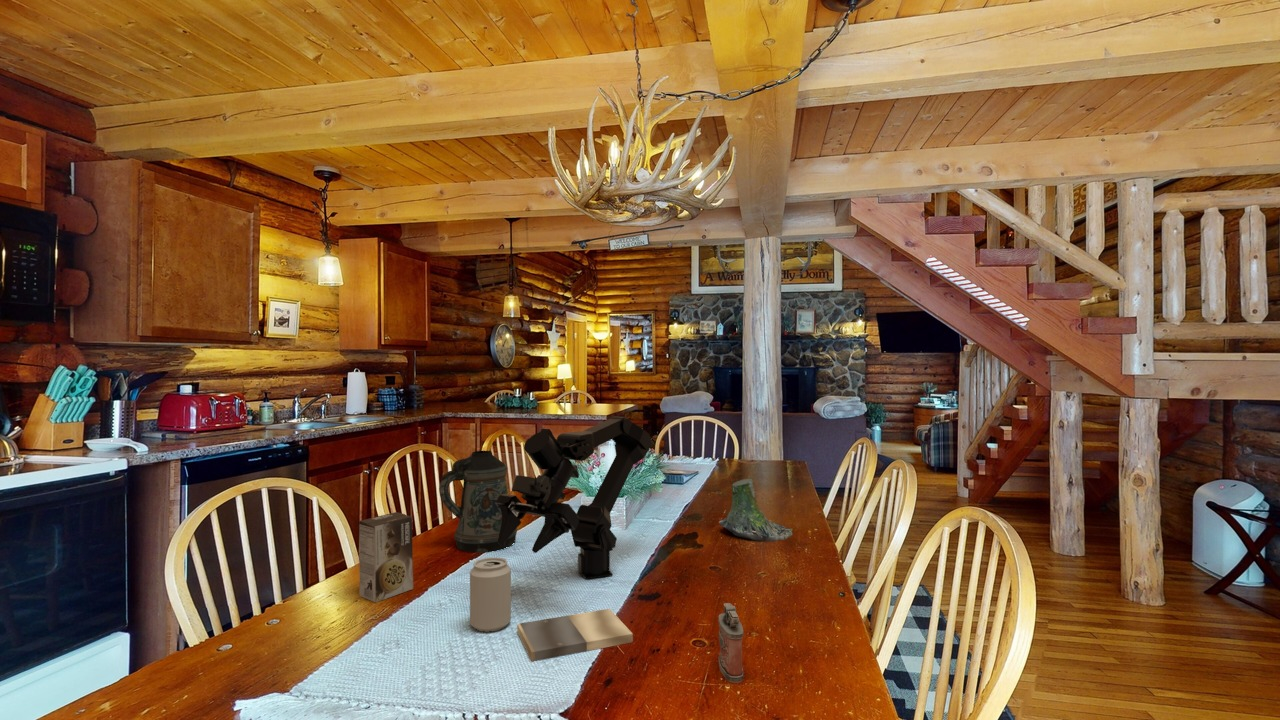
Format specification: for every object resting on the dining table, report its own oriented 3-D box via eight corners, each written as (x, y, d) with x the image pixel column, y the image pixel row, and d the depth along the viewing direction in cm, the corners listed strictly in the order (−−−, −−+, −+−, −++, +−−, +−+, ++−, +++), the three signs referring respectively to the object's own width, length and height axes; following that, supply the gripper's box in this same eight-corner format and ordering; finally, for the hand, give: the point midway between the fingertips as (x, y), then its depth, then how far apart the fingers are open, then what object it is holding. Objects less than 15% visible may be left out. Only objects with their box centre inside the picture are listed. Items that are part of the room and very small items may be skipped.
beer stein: (529, 541, 172) (529, 450, 171) (476, 560, 155) (475, 459, 155) (486, 532, 180) (486, 445, 180) (431, 549, 164) (431, 454, 164)
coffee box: (396, 583, 139) (396, 511, 139) (414, 589, 135) (413, 515, 135) (357, 596, 132) (357, 520, 132) (375, 603, 128) (375, 524, 128)
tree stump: (800, 544, 170) (785, 481, 169) (729, 561, 171) (713, 498, 170) (787, 523, 188) (773, 466, 187) (722, 538, 189) (708, 481, 188)
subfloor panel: (609, 616, 121) (609, 608, 121) (632, 642, 110) (632, 633, 110) (517, 632, 114) (517, 623, 114) (531, 661, 103) (531, 651, 103)
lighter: (715, 658, 104) (715, 598, 104) (735, 657, 105) (735, 597, 105) (725, 683, 96) (725, 618, 96) (747, 681, 97) (747, 617, 97)
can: (518, 619, 120) (518, 557, 120) (497, 636, 113) (497, 570, 113) (484, 614, 122) (484, 553, 122) (461, 630, 115) (461, 565, 115)
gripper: (501, 455, 133) (461, 518, 123) (570, 463, 123) (532, 532, 113) (526, 486, 139) (490, 548, 130) (594, 496, 129) (559, 564, 120)
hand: (516, 547), depth 123 cm, fingers open, 9 cm apart
